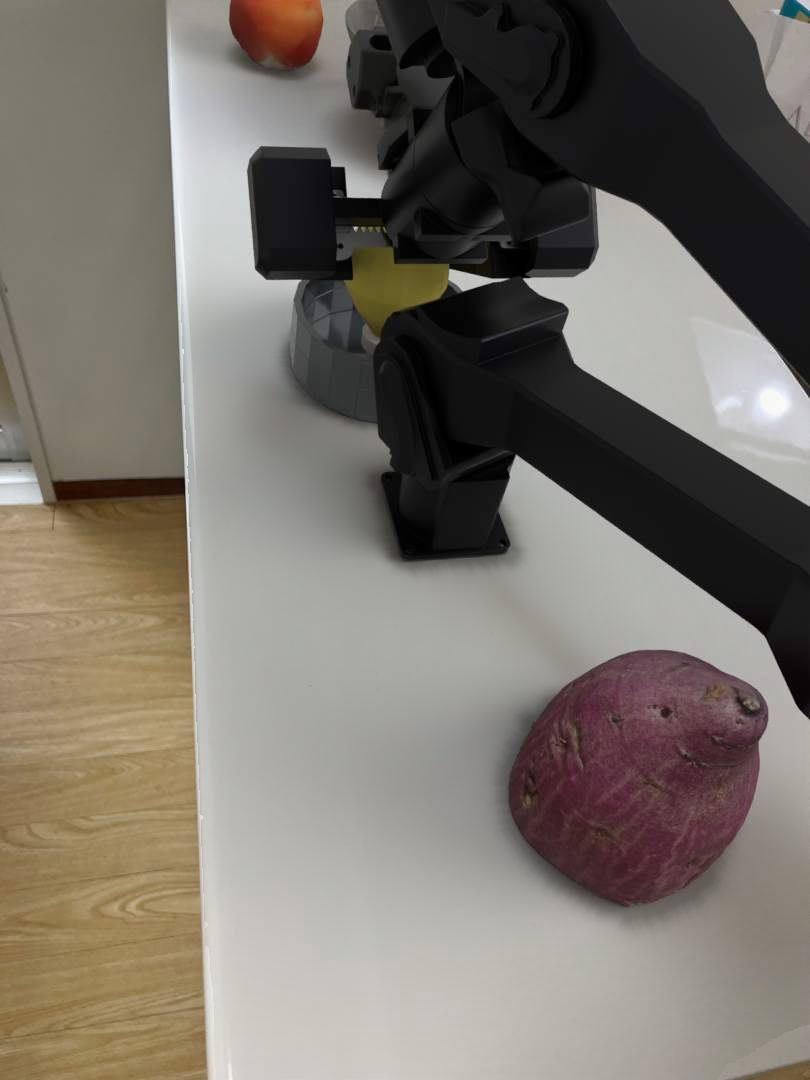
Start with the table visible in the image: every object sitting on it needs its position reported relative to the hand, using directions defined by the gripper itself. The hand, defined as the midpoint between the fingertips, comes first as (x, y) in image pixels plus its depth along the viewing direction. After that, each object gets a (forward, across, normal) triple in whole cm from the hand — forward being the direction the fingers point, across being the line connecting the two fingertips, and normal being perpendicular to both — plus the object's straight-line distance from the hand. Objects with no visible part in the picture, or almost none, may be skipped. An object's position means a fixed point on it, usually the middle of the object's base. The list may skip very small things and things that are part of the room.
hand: (390, 258), depth 55 cm
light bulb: (+4, 0, +6) cm, 7 cm away
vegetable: (-16, -5, +30) cm, 34 cm away
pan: (+5, 0, +6) cm, 8 cm away
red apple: (+37, +1, -30) cm, 47 cm away
